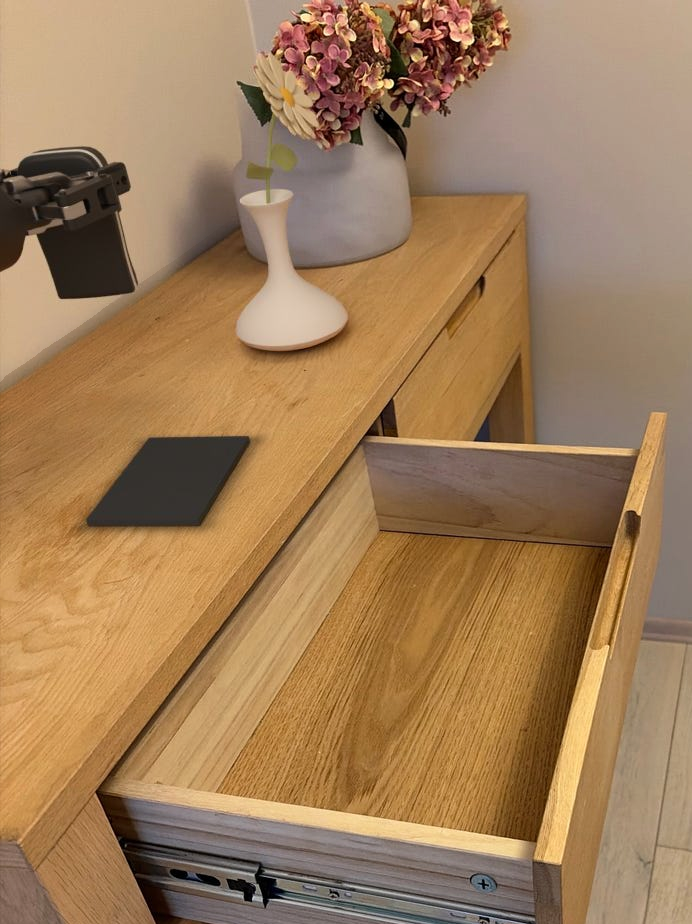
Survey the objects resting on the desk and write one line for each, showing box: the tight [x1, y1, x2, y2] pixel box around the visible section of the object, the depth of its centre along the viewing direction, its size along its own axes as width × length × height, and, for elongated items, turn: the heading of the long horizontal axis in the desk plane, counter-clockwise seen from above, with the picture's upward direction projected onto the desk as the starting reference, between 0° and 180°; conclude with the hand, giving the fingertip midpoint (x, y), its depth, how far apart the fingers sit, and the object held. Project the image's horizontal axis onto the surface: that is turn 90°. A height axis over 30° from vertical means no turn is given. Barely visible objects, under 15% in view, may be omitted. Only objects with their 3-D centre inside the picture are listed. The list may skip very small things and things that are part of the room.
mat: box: [85, 435, 251, 527], centre depth 79 cm, size 9×13×1 cm
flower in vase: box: [235, 52, 349, 352], centre depth 93 cm, size 13×11×25 cm
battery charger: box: [17, 145, 139, 300], centre depth 82 cm, size 7×4×11 cm, turn 93°
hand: (85, 174), depth 81 cm, fingers closed on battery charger, 7 cm apart
